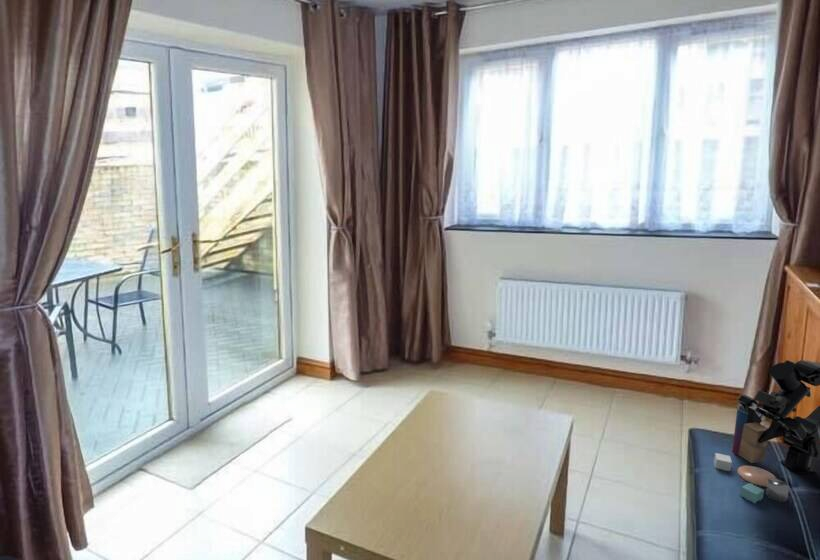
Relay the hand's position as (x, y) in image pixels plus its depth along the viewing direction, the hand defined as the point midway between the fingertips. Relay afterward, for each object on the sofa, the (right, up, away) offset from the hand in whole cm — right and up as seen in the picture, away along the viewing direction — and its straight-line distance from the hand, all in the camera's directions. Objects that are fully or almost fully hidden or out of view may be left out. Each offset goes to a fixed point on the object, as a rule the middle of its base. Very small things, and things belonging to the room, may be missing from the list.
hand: (751, 437), depth 161 cm
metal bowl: (+4, -15, -5) cm, 16 cm away
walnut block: (+1, -6, +2) cm, 7 cm away
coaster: (+4, -13, +4) cm, 14 cm away
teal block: (-3, -15, -6) cm, 16 cm away
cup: (+7, -10, +17) cm, 21 cm away
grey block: (-3, -11, +10) cm, 15 cm away
